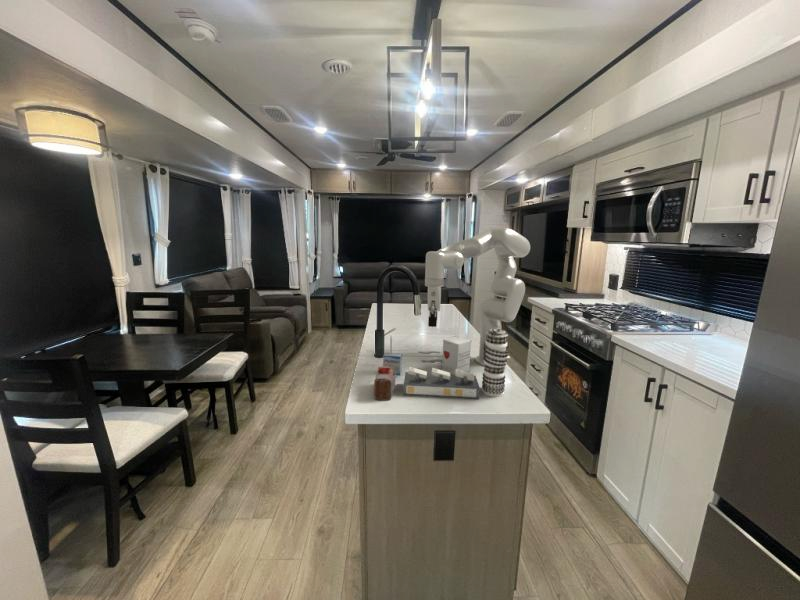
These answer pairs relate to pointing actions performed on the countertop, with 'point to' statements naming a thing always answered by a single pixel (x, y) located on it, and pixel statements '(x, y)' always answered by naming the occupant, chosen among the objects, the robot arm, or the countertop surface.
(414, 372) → the rocker
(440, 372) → the rocker
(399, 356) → the medicine box
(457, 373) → the rocker
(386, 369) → the food item
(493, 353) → the decorative candle
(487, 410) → the countertop surface
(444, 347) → the supplement box
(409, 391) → the switch unit
